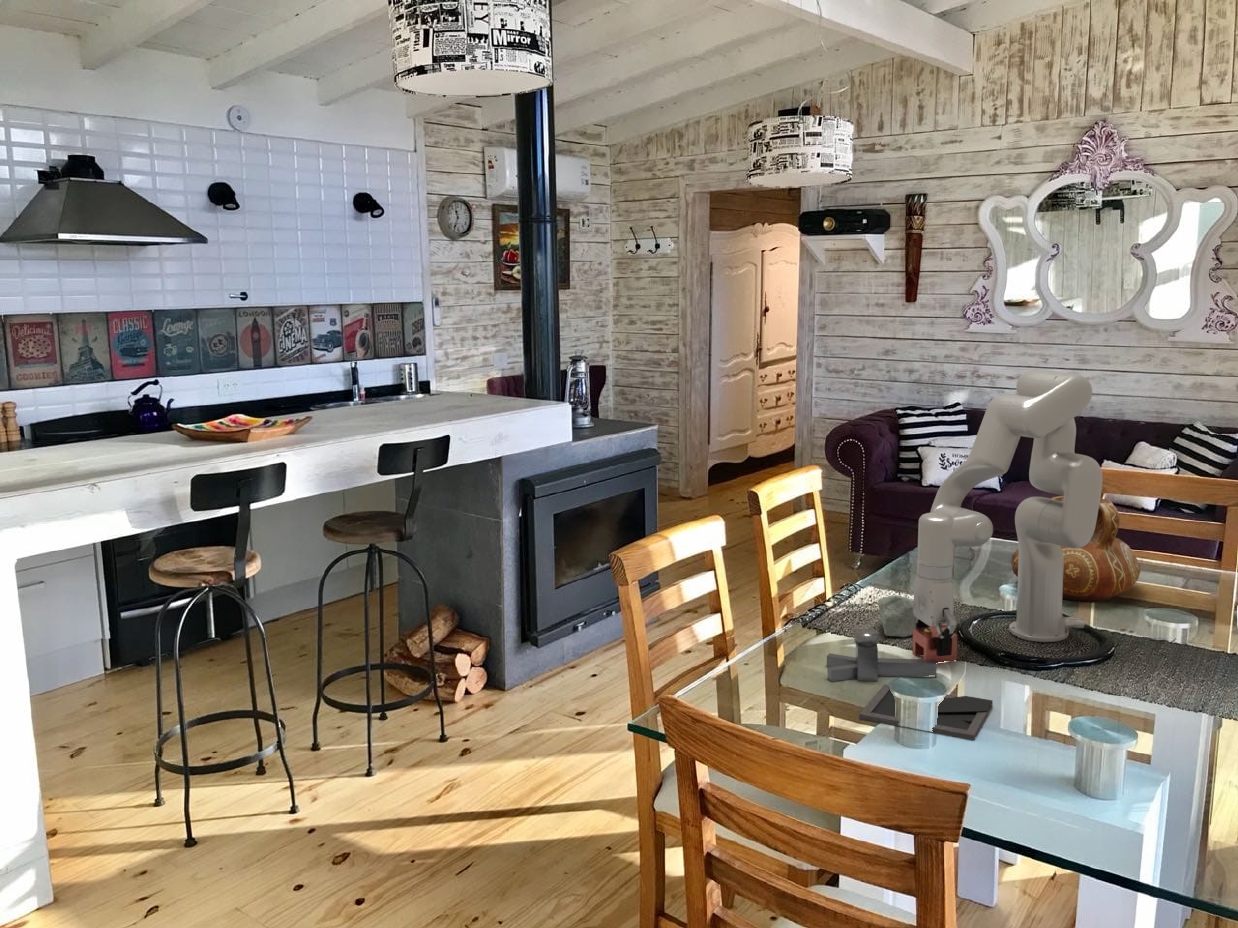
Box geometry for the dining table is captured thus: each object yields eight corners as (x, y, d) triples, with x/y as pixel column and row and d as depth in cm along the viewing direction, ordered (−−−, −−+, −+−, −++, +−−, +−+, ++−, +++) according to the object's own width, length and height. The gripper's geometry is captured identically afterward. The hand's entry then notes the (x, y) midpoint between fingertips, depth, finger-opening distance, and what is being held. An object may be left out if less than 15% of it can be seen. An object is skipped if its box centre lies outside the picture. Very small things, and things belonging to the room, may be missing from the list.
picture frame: (992, 710, 200) (884, 691, 211) (992, 700, 200) (884, 682, 211) (973, 743, 187) (859, 721, 197) (974, 733, 186) (859, 711, 197)
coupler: (932, 666, 221) (933, 625, 220) (938, 684, 212) (939, 642, 210) (826, 663, 225) (826, 623, 223) (827, 681, 215) (827, 640, 214)
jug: (989, 592, 269) (992, 497, 264) (1045, 567, 288) (1048, 478, 284) (1106, 617, 247) (1111, 515, 242) (1158, 589, 266) (1164, 493, 261)
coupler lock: (942, 651, 230) (942, 621, 228) (956, 661, 223) (957, 631, 222) (912, 654, 228) (913, 624, 227) (926, 664, 222) (926, 634, 221)
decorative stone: (910, 644, 234) (929, 605, 236) (865, 622, 238) (884, 584, 240) (909, 653, 246) (927, 616, 248) (866, 632, 250) (885, 595, 252)
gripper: (901, 561, 230) (899, 635, 233) (938, 583, 213) (935, 663, 216) (932, 559, 231) (930, 632, 234) (972, 580, 215) (969, 659, 218)
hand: (933, 647), depth 225 cm, fingers open, 9 cm apart
